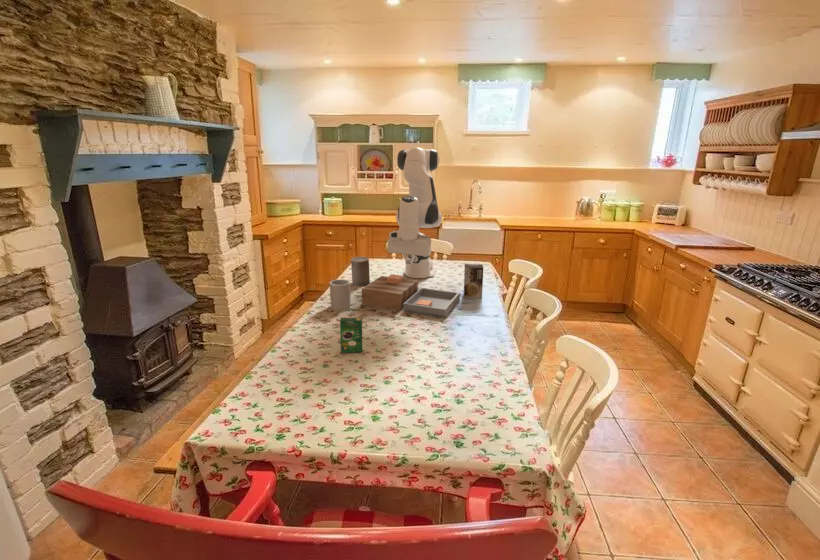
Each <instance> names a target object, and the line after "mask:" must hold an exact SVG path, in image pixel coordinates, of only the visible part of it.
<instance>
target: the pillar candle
mask: <svg viewBox="0 0 820 560" xmlns="http://www.w3.org/2000/svg"><path fill="white" fill-rule="evenodd" d="M350 265H351V283H352V285H355V286H357V285H358V286H359V287H360V285H363V286H367V285H368V284H370V283H371V281H370V279H371V277H370V259H369V257H366V256H356V257H351V259H350Z"/></svg>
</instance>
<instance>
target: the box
mask: <svg viewBox="0 0 820 560" xmlns="http://www.w3.org/2000/svg"><path fill="white" fill-rule="evenodd" d="M460 297H461V292H458V291H448V290H442V289H434V288H428V287H427V288H426V287H420V288H418V291H417V292H416V293H415V294H414V295H412V296H411V297H410V298H409V299H408V300H407V301H405V302H404V303H403V309H402V312H404V313H408V314H415V315H416V314H417V315H421V314H422V315H423V316H429V317H434V316H435V318H441V319H446V318H447V317H448V316H449V314H450V313H451V312H452V311H453V309H454V308H455V306H457V305H458V303H459V302H460V301H461V299H460ZM420 299H422V300H429V301H432V307H430V306H423V305H416V303H417V302H418V301H419V300H420Z"/></svg>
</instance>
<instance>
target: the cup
mask: <svg viewBox="0 0 820 560" xmlns="http://www.w3.org/2000/svg"><path fill="white" fill-rule="evenodd" d="M350 281H351V280H349V279H342V278H341V279H339V278H338V279H333V280H331V281H330V282H329V292H330V293H329V295H330V308H331V310H334V309H335V310H334V311H346V310H348V308H349V309H350V308H351V307H352V305H351V302H352V300H351V282H350ZM345 309H346V310H345Z"/></svg>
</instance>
